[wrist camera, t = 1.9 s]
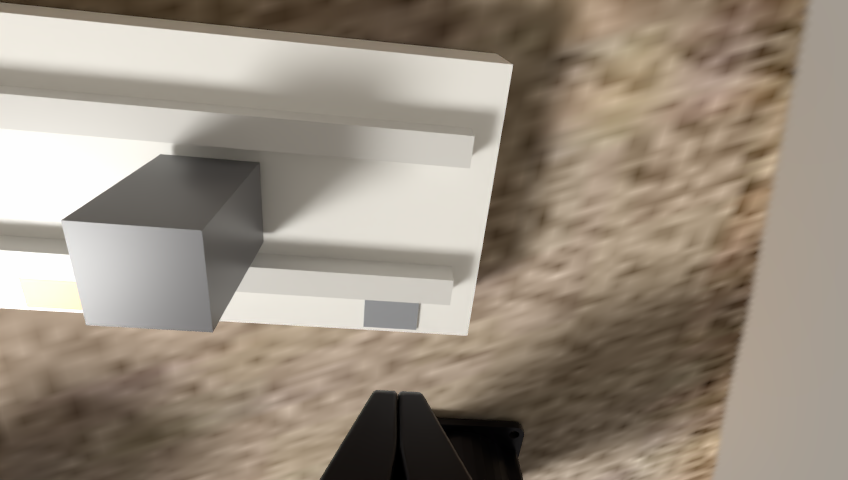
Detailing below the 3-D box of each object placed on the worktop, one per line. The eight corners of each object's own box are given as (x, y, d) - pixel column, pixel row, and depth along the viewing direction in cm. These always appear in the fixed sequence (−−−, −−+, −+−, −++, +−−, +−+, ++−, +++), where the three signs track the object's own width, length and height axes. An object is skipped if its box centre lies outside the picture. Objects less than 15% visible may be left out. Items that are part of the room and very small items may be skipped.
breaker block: (496, 53, 18) (520, 69, 14) (459, 293, 22) (470, 352, 18) (-49, -3, 16) (-178, -2, 13) (28, 265, 21) (-52, 322, 17)
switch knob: (259, 162, 16) (201, 230, 11) (263, 242, 17) (212, 332, 12) (160, 154, 15) (61, 220, 11) (171, 235, 17) (86, 325, 12)
